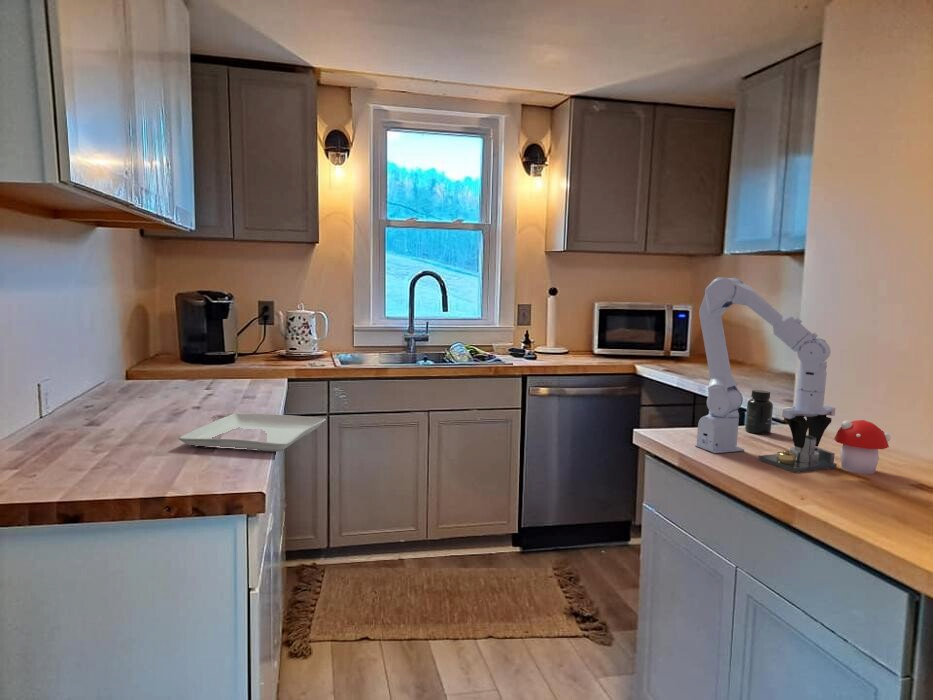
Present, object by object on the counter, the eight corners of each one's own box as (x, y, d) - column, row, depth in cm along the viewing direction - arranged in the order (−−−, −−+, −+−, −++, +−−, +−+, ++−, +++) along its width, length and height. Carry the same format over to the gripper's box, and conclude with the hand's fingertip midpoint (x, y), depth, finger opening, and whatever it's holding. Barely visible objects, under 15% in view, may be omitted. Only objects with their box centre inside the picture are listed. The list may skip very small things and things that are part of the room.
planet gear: (804, 464, 147) (807, 441, 147) (783, 455, 153) (786, 434, 152) (823, 462, 149) (826, 439, 149) (802, 454, 155) (805, 432, 154)
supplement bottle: (773, 435, 179) (777, 394, 178) (747, 433, 180) (751, 392, 179) (767, 430, 186) (770, 389, 184) (742, 428, 187) (745, 388, 186)
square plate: (233, 425, 177) (233, 411, 176) (327, 430, 173) (327, 417, 173) (176, 451, 150) (176, 435, 150) (285, 458, 146) (285, 442, 146)
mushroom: (878, 466, 151) (883, 417, 149) (892, 480, 140) (898, 427, 139) (828, 461, 154) (832, 413, 153) (838, 474, 144) (843, 422, 142)
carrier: (794, 472, 144) (795, 455, 143) (758, 459, 154) (759, 443, 153) (837, 467, 148) (838, 451, 148) (799, 455, 158) (801, 440, 158)
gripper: (801, 394, 143) (796, 452, 144) (848, 391, 148) (843, 448, 149) (777, 389, 149) (772, 444, 151) (822, 386, 154) (817, 440, 156)
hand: (805, 446), depth 150 cm, fingers closed on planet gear, 4 cm apart
